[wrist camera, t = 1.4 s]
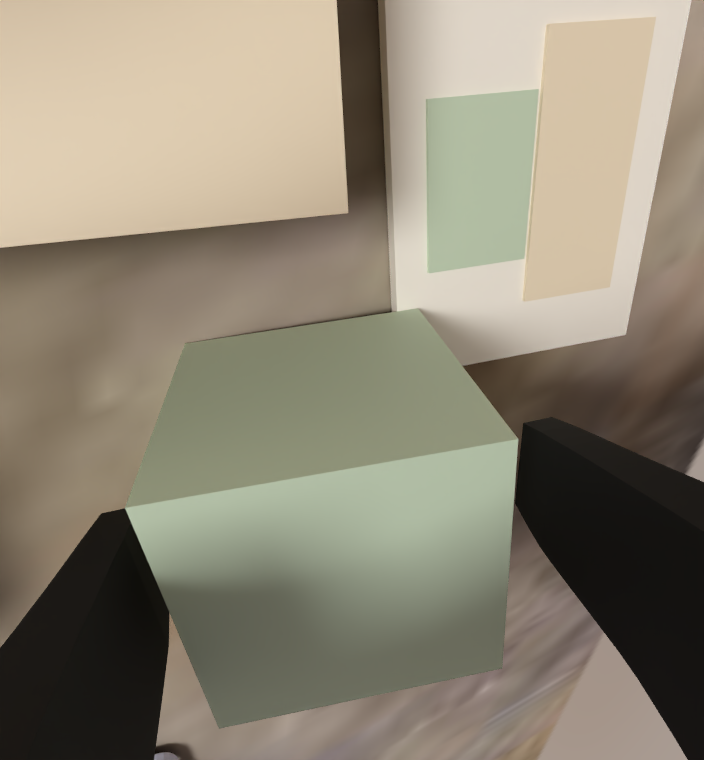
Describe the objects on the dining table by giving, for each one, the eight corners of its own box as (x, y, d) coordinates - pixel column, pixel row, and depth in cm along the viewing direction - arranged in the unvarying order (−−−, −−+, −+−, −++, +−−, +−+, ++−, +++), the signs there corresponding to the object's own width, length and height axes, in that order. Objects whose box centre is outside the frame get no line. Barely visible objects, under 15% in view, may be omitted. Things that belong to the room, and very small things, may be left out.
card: (614, 329, 13) (628, 336, 13) (394, 370, 12) (401, 379, 12) (688, -74, 9) (712, -84, 9) (374, -66, 8) (383, -76, 8)
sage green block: (425, 485, 13) (502, 668, 9) (236, 519, 13) (218, 728, 8) (417, 308, 11) (517, 438, 6) (185, 343, 10) (124, 507, 6)
